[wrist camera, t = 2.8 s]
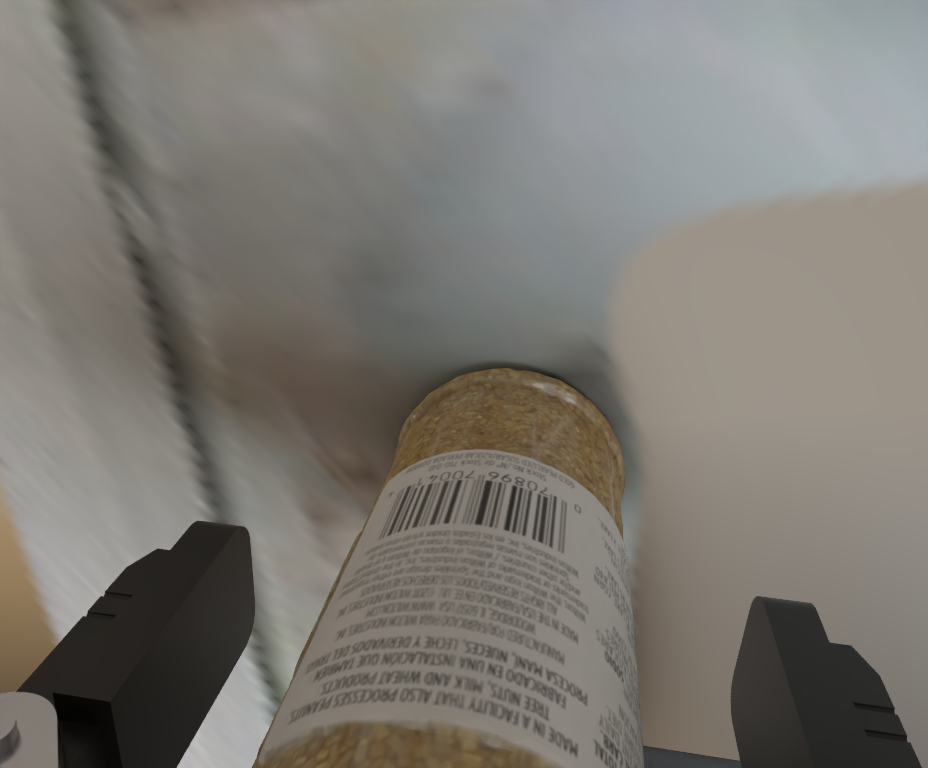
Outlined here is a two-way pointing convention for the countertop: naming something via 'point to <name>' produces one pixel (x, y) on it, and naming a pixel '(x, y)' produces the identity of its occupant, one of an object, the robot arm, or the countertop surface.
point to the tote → (683, 760)
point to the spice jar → (478, 598)
